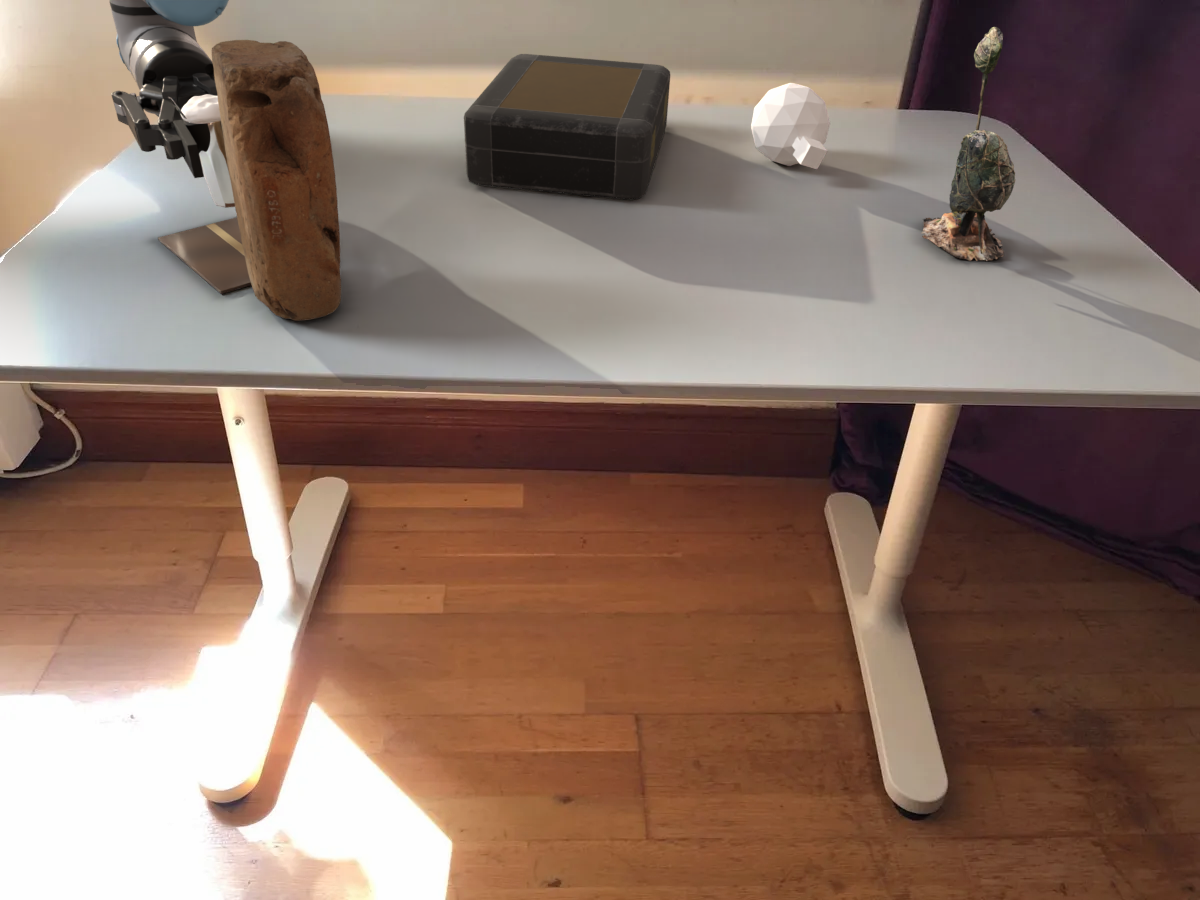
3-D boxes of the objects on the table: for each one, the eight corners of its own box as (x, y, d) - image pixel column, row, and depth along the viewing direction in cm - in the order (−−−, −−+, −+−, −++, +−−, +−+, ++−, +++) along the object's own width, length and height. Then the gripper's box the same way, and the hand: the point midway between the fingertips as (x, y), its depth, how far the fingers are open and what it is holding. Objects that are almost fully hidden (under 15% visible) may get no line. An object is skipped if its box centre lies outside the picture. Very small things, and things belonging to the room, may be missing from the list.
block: (245, 272, 84) (200, 33, 71) (331, 260, 87) (302, 28, 74) (264, 334, 76) (218, 80, 64) (358, 319, 79) (331, 72, 67)
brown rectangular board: (158, 240, 89) (157, 236, 89) (258, 214, 95) (257, 210, 95) (221, 294, 81) (220, 290, 81) (326, 262, 87) (326, 258, 87)
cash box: (510, 113, 122) (508, 50, 118) (667, 127, 120) (672, 63, 116) (457, 186, 103) (453, 113, 98) (644, 204, 101) (649, 131, 96)
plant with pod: (917, 264, 92) (974, 45, 79) (920, 219, 100) (972, 15, 88) (1005, 278, 90) (1078, 56, 78) (1000, 231, 99) (1065, 25, 87)
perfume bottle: (727, 133, 114) (762, 183, 106) (763, 59, 108) (803, 106, 100) (787, 151, 117) (825, 200, 109) (824, 80, 112) (868, 127, 104)
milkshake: (188, 204, 85) (154, 91, 79) (240, 185, 89) (211, 75, 82) (216, 218, 83) (184, 103, 77) (268, 198, 86) (242, 86, 80)
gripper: (273, 106, 100) (338, 184, 84) (92, 128, 93) (126, 217, 77) (260, 30, 96) (326, 98, 80) (69, 47, 89) (100, 125, 73)
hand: (228, 156), depth 79 cm, fingers closed on milkshake, 4 cm apart
